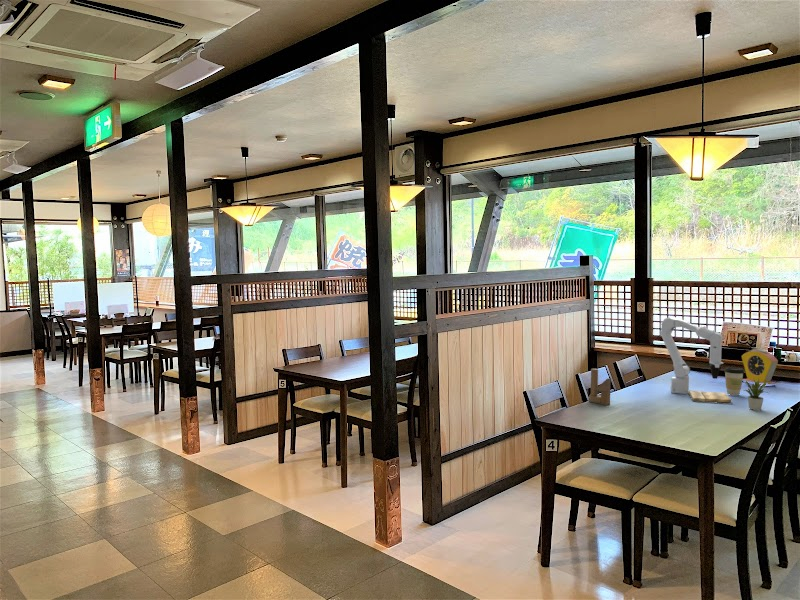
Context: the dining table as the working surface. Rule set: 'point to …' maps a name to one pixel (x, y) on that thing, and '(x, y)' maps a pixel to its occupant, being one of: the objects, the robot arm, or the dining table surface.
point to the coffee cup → (733, 380)
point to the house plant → (755, 395)
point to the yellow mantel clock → (759, 365)
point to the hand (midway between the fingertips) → (714, 378)
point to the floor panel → (700, 395)
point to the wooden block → (603, 388)
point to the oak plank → (717, 398)
